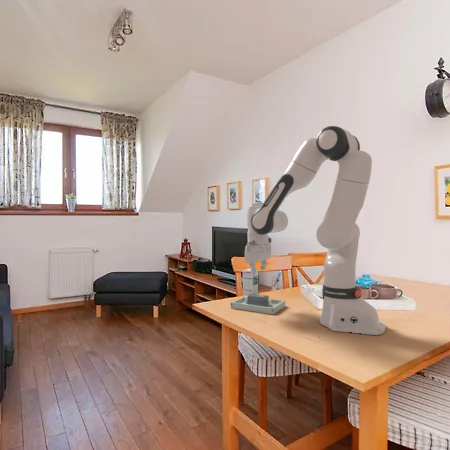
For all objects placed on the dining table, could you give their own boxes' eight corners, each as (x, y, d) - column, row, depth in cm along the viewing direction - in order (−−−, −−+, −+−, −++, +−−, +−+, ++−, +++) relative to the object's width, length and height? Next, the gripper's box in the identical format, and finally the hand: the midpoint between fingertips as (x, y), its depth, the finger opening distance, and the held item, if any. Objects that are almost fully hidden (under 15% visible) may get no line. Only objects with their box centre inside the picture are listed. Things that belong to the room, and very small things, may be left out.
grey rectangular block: (268, 304, 146) (268, 294, 146) (264, 307, 141) (264, 297, 141) (251, 302, 149) (251, 293, 149) (247, 305, 145) (247, 295, 145)
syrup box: (252, 301, 156) (252, 271, 155) (242, 299, 159) (242, 269, 159) (259, 298, 160) (258, 269, 160) (248, 297, 164) (248, 268, 163)
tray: (285, 306, 146) (285, 297, 146) (273, 314, 134) (273, 304, 134) (245, 300, 157) (245, 292, 157) (230, 308, 145) (230, 299, 145)
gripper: (253, 241, 134) (255, 275, 134) (273, 238, 152) (274, 268, 152) (240, 241, 137) (241, 274, 138) (260, 238, 155) (261, 268, 155)
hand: (258, 271), depth 145 cm, fingers open, 8 cm apart
